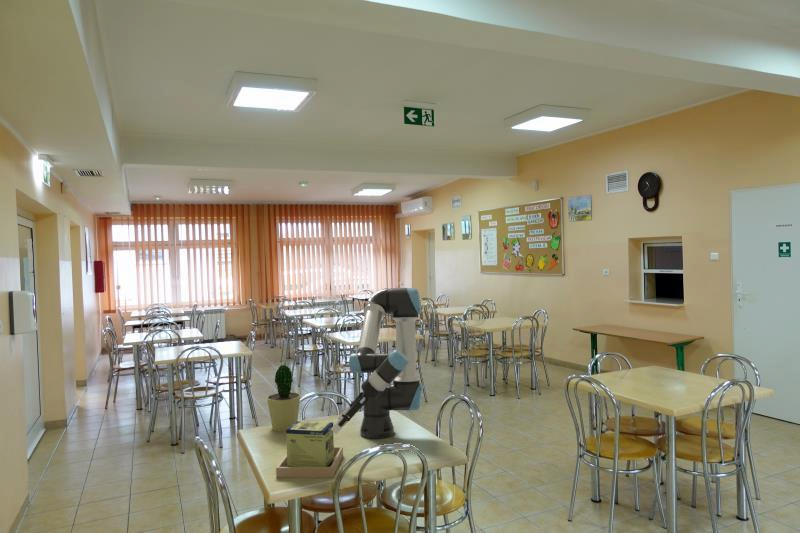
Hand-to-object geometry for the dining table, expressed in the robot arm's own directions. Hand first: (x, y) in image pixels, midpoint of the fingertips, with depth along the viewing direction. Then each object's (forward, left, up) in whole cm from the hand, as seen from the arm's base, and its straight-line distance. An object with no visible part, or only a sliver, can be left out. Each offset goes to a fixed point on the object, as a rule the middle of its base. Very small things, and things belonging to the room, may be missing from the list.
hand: (336, 425), depth 205 cm
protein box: (+10, -1, -16) cm, 19 cm away
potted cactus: (+34, -49, -16) cm, 62 cm away
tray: (+10, -1, -16) cm, 19 cm away
